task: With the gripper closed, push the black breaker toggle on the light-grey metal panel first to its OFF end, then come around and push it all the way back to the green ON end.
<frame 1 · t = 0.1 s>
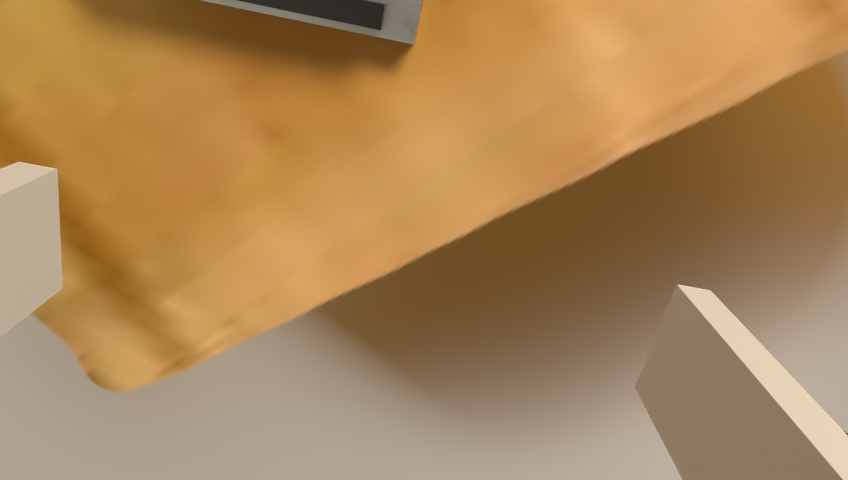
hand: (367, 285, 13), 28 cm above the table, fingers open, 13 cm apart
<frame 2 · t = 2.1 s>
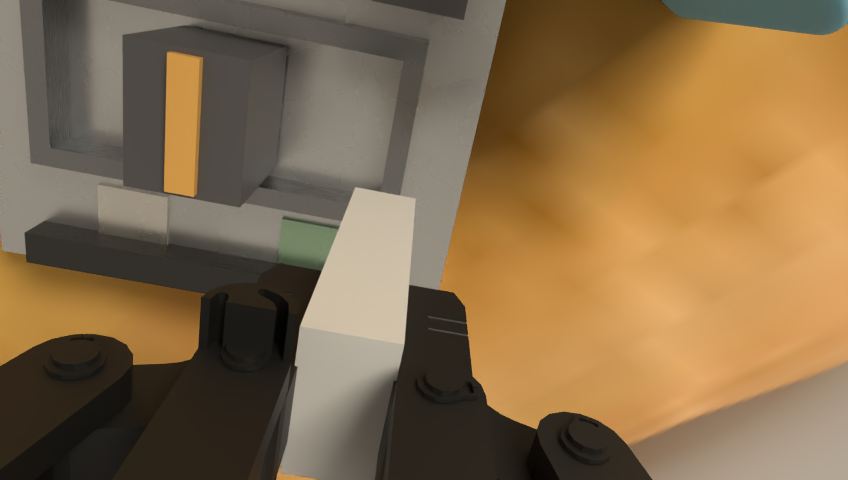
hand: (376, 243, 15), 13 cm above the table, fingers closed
breaker toggle: (209, 112, 22), point 5 cm above the table, slide at 0.0 cm
breaker panel: (247, 90, 26), on the table
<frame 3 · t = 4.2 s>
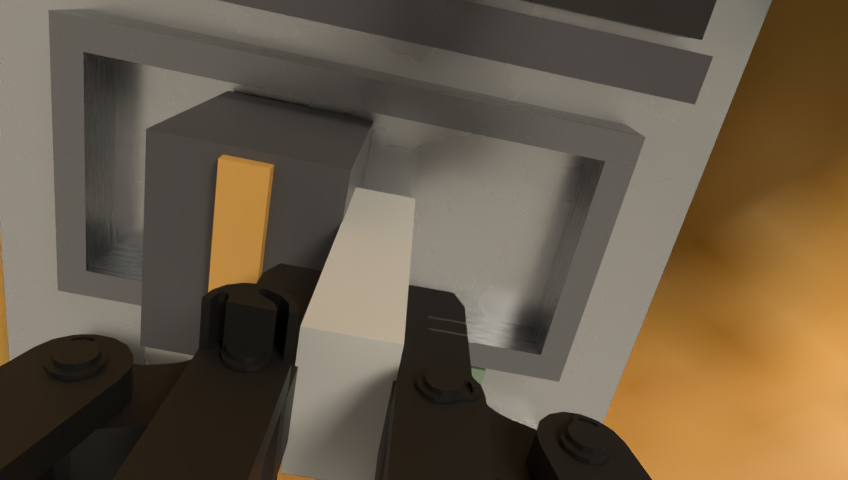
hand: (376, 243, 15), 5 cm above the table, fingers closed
breaker toggle: (267, 224, 15), point 5 cm above the table, slide at -1.5 cm, touching gripper
breaker panel: (351, 180, 19), on the table
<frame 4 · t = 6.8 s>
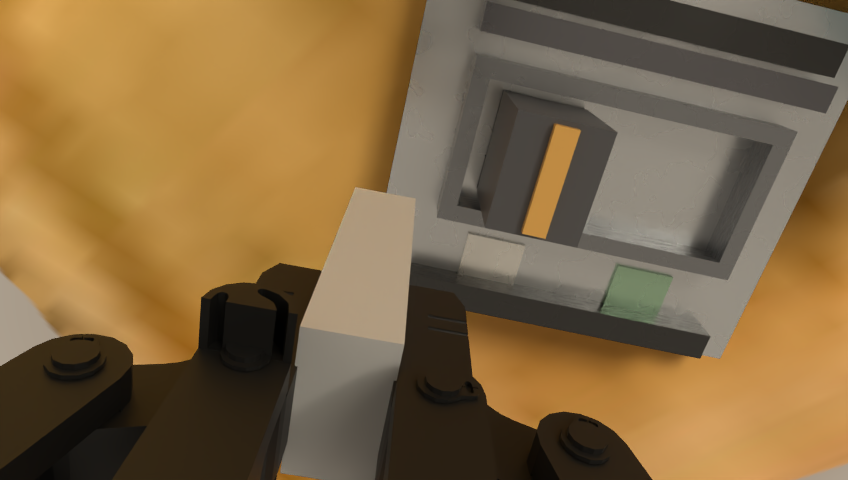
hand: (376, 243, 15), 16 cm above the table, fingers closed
breaker toggle: (539, 166, 26), point 5 cm above the table, slide at -3.7 cm
breaker panel: (592, 156, 31), on the table
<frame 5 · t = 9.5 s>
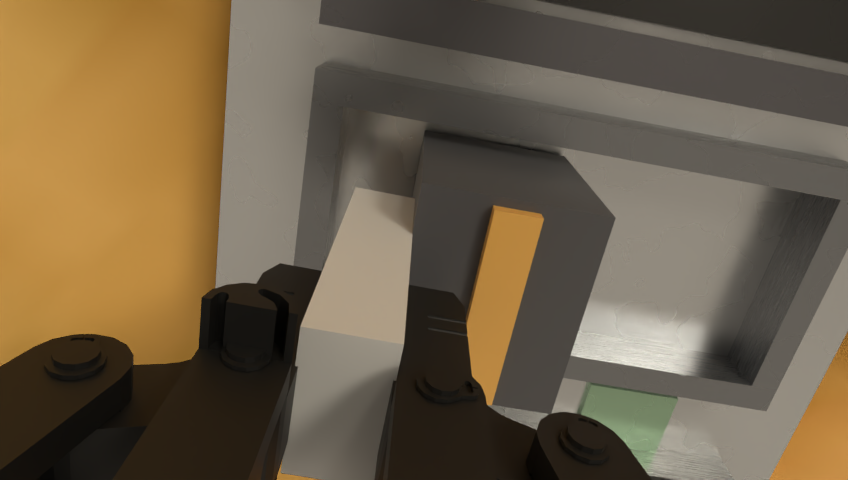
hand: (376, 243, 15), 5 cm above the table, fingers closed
breaker toggle: (483, 262, 15), point 5 cm above the table, slide at -2.4 cm, touching gripper
breaker panel: (543, 214, 20), on the table
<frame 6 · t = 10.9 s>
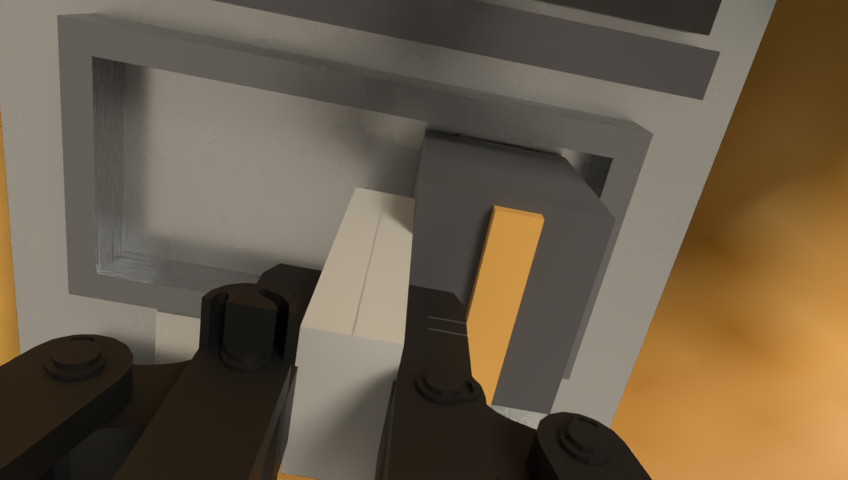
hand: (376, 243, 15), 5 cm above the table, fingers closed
breaker toggle: (482, 262, 15), point 5 cm above the table, slide at 3.8 cm, touching gripper
breaker panel: (358, 180, 19), on the table
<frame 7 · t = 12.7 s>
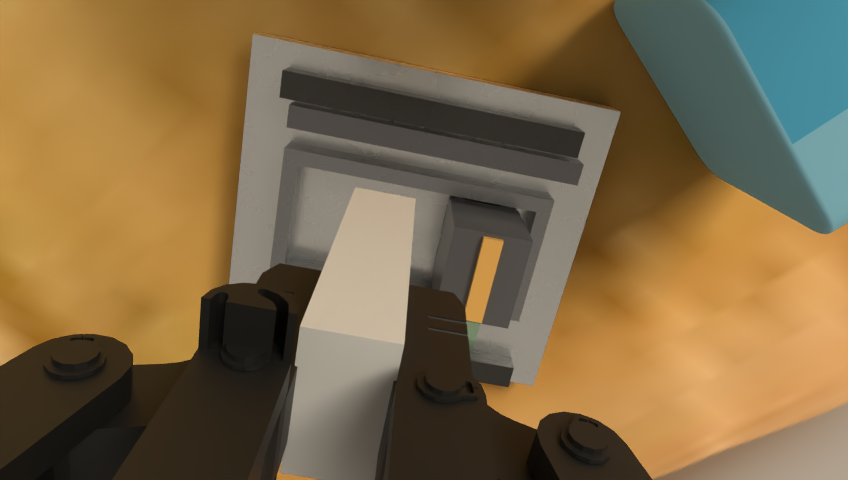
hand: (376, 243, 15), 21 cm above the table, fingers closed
breaker toggle: (478, 261, 32), point 5 cm above the table, slide at 3.9 cm
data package: (692, 67, 34), on the table
breaker panel: (409, 218, 36), on the table
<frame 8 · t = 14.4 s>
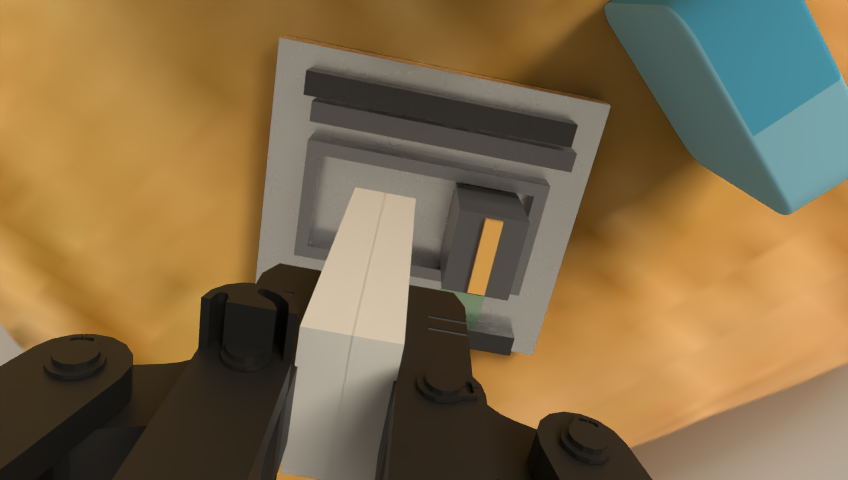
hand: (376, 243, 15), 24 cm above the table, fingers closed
breaker toggle: (481, 240, 36), point 5 cm above the table, slide at 3.9 cm
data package: (677, 64, 37), on the table
breaker panel: (419, 203, 40), on the table
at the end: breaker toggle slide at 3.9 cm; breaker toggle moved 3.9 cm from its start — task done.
